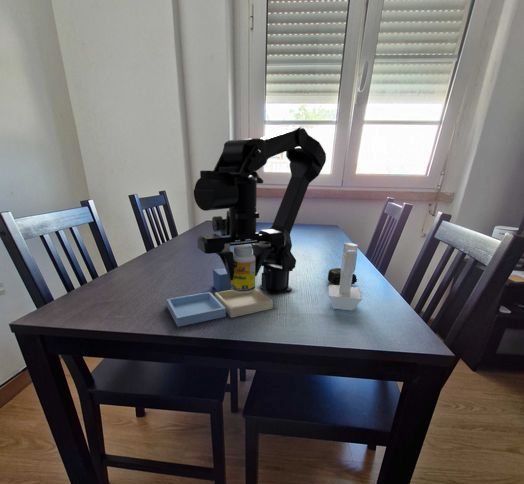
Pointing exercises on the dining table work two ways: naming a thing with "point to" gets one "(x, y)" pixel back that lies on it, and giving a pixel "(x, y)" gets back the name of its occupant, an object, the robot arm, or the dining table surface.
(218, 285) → the blue block
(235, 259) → the supplement bottle
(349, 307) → the white joystick
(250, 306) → the cream tray
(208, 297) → the blue tray
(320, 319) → the dining table surface
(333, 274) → the tape measure
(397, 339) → the dining table surface
